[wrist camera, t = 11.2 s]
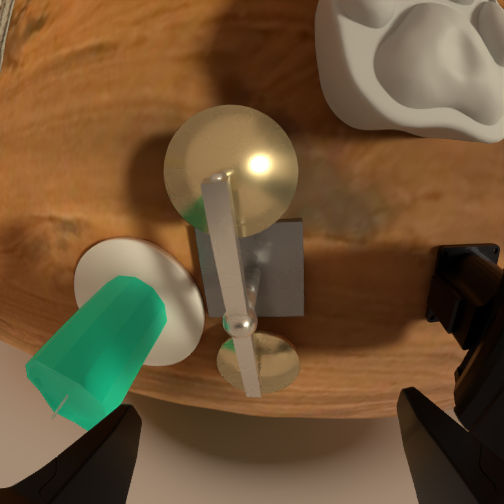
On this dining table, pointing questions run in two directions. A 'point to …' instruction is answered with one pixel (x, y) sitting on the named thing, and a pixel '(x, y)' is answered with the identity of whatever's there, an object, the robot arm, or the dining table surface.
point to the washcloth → (4, 23)
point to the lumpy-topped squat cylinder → (414, 66)
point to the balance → (242, 235)
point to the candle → (99, 351)
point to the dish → (157, 276)
